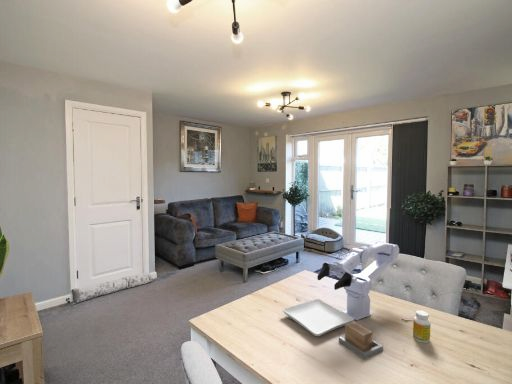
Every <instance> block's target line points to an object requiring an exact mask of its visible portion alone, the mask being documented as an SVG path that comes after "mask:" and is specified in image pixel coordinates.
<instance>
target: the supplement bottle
mask: <svg viewBox="0 0 512 384" xmlns="http://www.w3.org/2000/svg"><path fill="white" fill-rule="evenodd" d="M412 322H413V323H412V337H413V339H414V340H416V341H417V342H421V343H424V342H425V343H430V341H431V325H432V324H431V320H430V319H429V313H428V312H426V311H425V310H420V309H419V310H416V311H415V316H414V317H413V320H412Z"/></svg>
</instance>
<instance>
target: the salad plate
mask: <svg viewBox="0 0 512 384" xmlns="http://www.w3.org/2000/svg"><path fill="white" fill-rule="evenodd" d="M342 311H343V310H342ZM342 311H341V310H340V309H339V308H337V307H334V306H333V305H331V304H329V303H328V302H325V301H323V300H321V299H320V298H316V299H312V300H309V301H305V302H301V303H299V304H295V305H292V306H288V307H286V308H283V309H282V312H283V313H284V314H285V315H286V316H287V317H289V319H291V320H293V321H294V322H295V323H297V324H299V325H300V326H301V327H303V328H304V329H305V330H307V331H308V332H309V333H311V335H312V336H314V337H315V336H316V337H320V336H323V335H324V334H327V333H328V332H331V331H333V330H335V329H336V330H337V329H338V328H341V327H345V324H348V323H350V322H353V321H355V319H354V318H353V317H351V316H349V315H347V314H345V313H344V312H342Z"/></svg>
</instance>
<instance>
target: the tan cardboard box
mask: <svg viewBox="0 0 512 384" xmlns="http://www.w3.org/2000/svg"><path fill="white" fill-rule="evenodd" d="M344 339H345V340H347V341H348V342H350V343H351V344H353V345H354V346H356V347H357V348H359V349H360V350H362V351H363V352H365V351H367V350H369V349H371V348H373V346H372V339H373V331H372V330H370V329H368V328H366V327H365V326H364V325H361V324H360V323H358V322H356V321H355V320H353V321H352V322H350V323H348V324H345V325H344Z"/></svg>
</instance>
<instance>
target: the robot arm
mask: <svg viewBox="0 0 512 384" xmlns="http://www.w3.org/2000/svg"><path fill="white" fill-rule="evenodd" d="M399 247H400V246H399V245H398V244H397V243H396V244H393V243H388V242H383V241H382V242H381V241H379V240H377V241H375V243H374V244H373V245H370V244H365V245H363V246H360V247H358V248H356V247H353V248H352V247H350V249H349V251H348V253H346V255H345V257H344V258H342V259H341V260H340V261H338V262H337V263H335V262H333V263H332V262H327V261H323V262H322V264H321V270H320V271H319V273H318V274H317V276H316V277H317V278H316V279H317V281H320V280H322V279H323V278H325V277H327V276H330V272H331V273H332V274H334V275H335V277H337V278H339V280H337V281H336V283H334V287H333V289H334V291H336V290H337V291H338V290H339V289H342V288H343V290H345V293H346V309H344V310H342V312H344V313H345V314H347V315H349V316H351V317H353V318H354V321H359V320H361V319H363V318H366V317H369V316H372V313H371V297H370V295H369V293H370V291H371V290H372V287H373V286H372V281H373V280H375V279H376V278H377V277H378V276H379V275H380V274H381V273H382V272H384V271H385V270H386V269H387V268H388V267H389V266H390V265H391V264H392V263H393V262H394V261H396V260H397V259H398V257H399V254H400V248H399ZM372 258H373V259H374V261H373V262H372V263H371V264H369V265H368V266H367V267H366V268H365V269H364V270H362V271H361V272H359V273H352V272H353V271H354V270H355V269H356V268H357V267H358V266H360V264H363V265H365V264H367V263H368V261H369V260H370V259H372Z"/></svg>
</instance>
